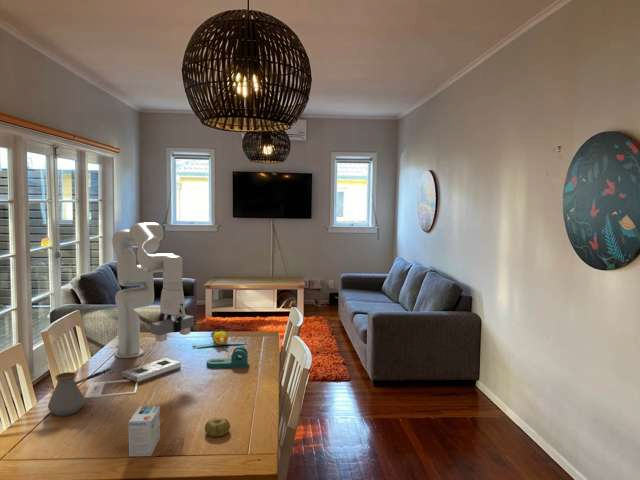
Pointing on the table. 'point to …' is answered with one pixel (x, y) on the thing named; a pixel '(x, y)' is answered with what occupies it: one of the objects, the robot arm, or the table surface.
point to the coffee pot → (68, 394)
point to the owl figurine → (219, 339)
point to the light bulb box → (144, 431)
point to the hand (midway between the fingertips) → (173, 330)
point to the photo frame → (97, 388)
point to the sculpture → (217, 427)
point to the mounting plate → (151, 370)
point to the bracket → (231, 360)
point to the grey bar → (171, 327)
